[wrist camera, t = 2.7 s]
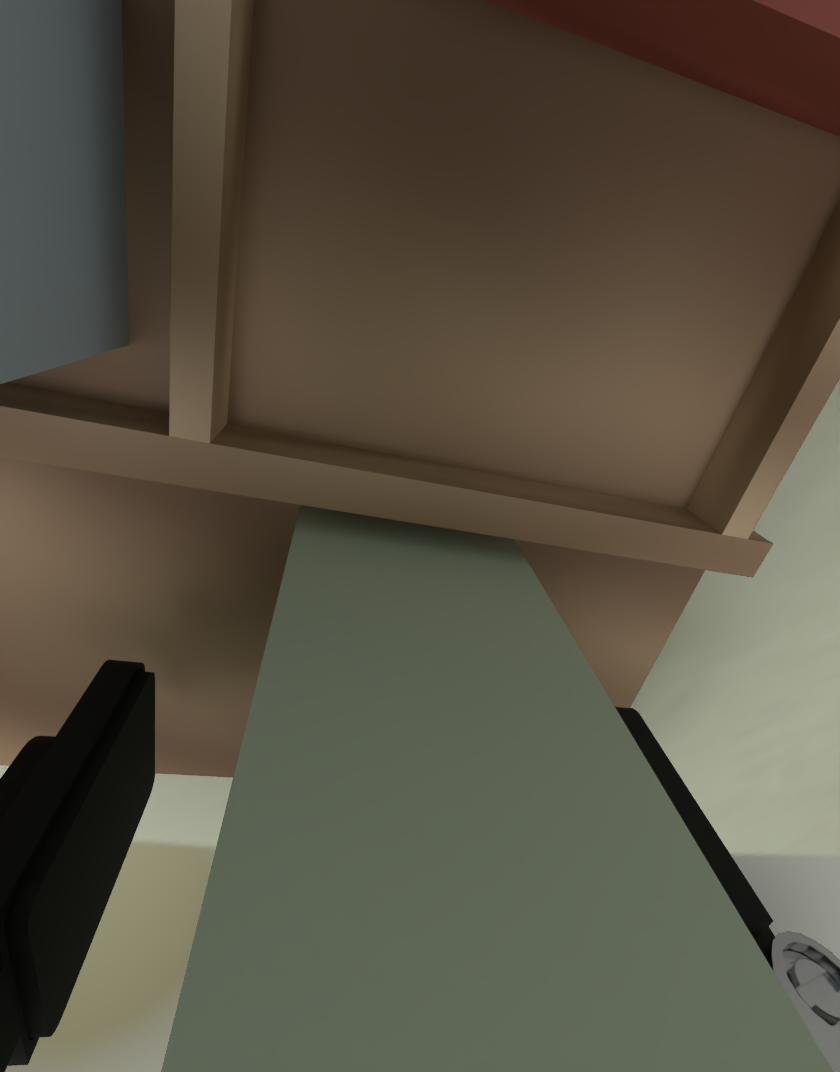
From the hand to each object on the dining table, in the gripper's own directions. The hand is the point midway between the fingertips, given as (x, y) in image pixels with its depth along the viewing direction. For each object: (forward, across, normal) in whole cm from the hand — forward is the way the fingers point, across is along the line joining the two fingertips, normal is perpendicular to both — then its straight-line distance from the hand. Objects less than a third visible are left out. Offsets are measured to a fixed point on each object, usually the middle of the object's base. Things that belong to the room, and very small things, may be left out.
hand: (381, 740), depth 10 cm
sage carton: (+2, 0, 0) cm, 2 cm away
